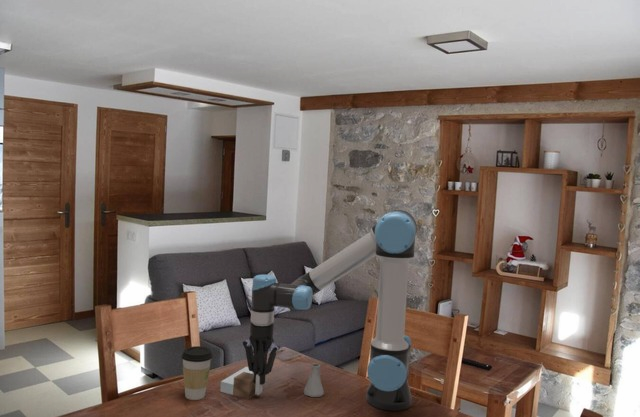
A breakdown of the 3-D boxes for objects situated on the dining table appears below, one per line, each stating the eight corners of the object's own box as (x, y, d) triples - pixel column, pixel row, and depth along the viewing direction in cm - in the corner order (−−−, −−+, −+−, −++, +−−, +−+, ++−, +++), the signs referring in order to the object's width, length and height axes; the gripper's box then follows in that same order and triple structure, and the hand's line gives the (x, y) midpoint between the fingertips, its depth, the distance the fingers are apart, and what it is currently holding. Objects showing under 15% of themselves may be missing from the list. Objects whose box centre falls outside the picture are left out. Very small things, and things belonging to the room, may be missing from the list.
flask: (322, 399, 179) (324, 369, 178) (301, 396, 180) (302, 367, 180) (326, 390, 186) (328, 362, 185) (305, 387, 187) (307, 359, 187)
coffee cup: (216, 394, 177) (219, 349, 176) (197, 405, 168) (200, 358, 167) (192, 387, 181) (194, 343, 180) (173, 397, 172) (175, 351, 171)
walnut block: (258, 393, 180) (259, 375, 180) (248, 399, 175) (249, 381, 174) (242, 388, 183) (243, 371, 182) (232, 395, 177) (233, 377, 177)
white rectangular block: (257, 379, 192) (258, 369, 192) (233, 395, 177) (233, 384, 177) (245, 376, 194) (246, 366, 194) (220, 391, 179) (220, 381, 179)
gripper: (284, 323, 176) (281, 393, 178) (251, 316, 181) (248, 385, 183) (273, 328, 169) (270, 401, 171) (239, 322, 174) (236, 393, 176)
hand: (258, 393), depth 177 cm, fingers closed
